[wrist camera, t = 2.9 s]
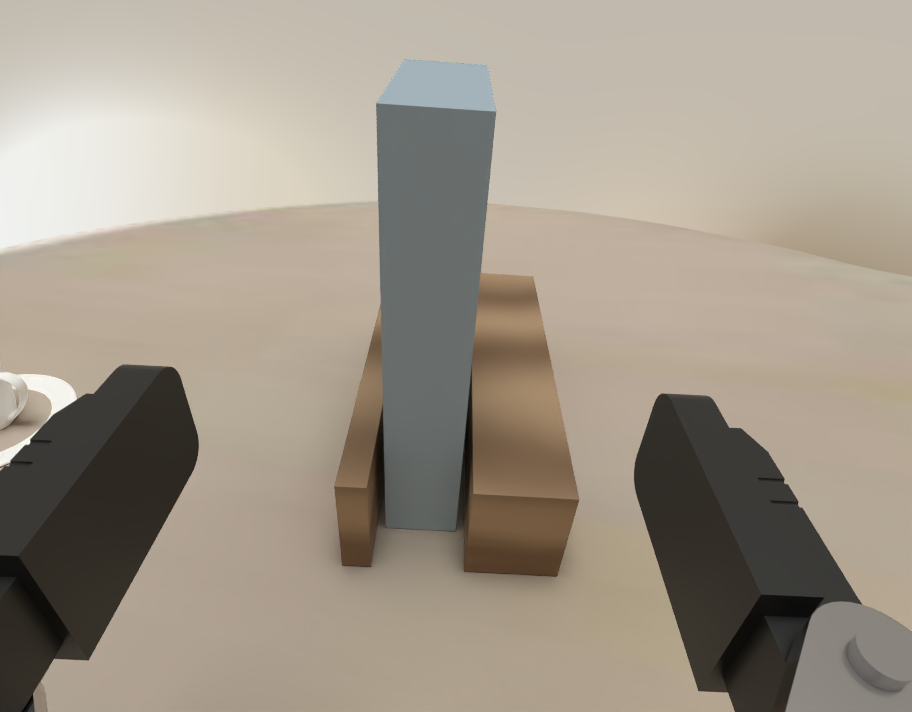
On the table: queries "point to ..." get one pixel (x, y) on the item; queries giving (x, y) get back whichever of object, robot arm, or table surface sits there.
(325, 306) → the table surface
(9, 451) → the teacup and saucer
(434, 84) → the cover panel
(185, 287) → the table surface
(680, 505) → the robot arm
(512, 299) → the slot box
